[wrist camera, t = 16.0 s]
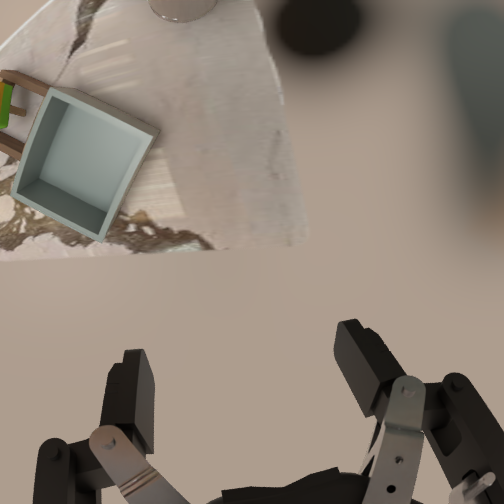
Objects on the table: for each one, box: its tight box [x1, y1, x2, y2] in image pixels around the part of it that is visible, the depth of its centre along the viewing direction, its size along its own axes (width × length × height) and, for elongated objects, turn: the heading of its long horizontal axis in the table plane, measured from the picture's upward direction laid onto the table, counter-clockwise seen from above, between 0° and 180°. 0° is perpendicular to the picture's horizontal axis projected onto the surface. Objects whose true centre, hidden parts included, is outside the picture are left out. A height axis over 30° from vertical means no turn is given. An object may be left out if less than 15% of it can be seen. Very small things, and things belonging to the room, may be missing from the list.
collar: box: [0, 70, 52, 161], centre depth 30 cm, size 10×10×4 cm
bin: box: [10, 87, 160, 243], centre depth 34 cm, size 14×14×8 cm
